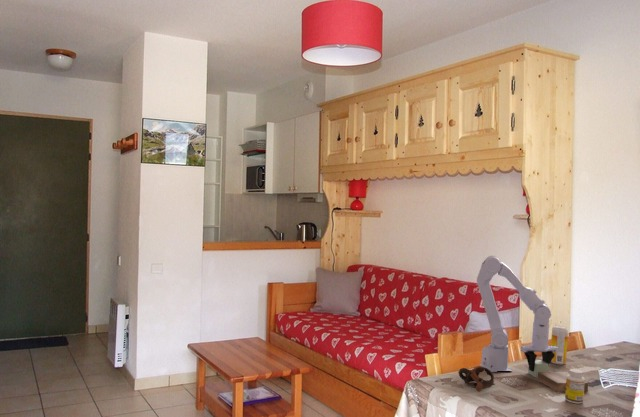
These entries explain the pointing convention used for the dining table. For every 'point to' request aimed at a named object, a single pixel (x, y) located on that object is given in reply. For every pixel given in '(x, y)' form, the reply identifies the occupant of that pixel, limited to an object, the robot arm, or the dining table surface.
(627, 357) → the dining table surface
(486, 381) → the brown looped piece
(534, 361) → the robot arm
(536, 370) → the sage block
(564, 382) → the walnut base
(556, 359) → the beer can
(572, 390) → the supplement bottle
